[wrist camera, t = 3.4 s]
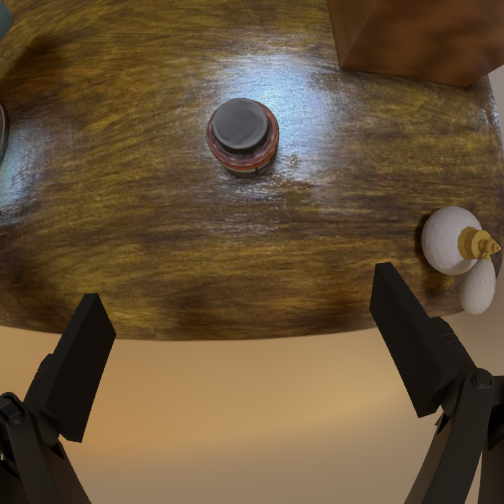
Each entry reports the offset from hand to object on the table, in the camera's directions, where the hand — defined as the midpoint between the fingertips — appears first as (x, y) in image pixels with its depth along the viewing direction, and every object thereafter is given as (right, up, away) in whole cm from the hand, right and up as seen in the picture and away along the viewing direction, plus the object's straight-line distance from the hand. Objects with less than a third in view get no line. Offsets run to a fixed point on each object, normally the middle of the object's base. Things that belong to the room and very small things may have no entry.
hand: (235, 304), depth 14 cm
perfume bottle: (+23, +3, +19) cm, 30 cm away
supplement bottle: (0, +13, +18) cm, 22 cm away
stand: (+19, +32, +15) cm, 40 cm away
